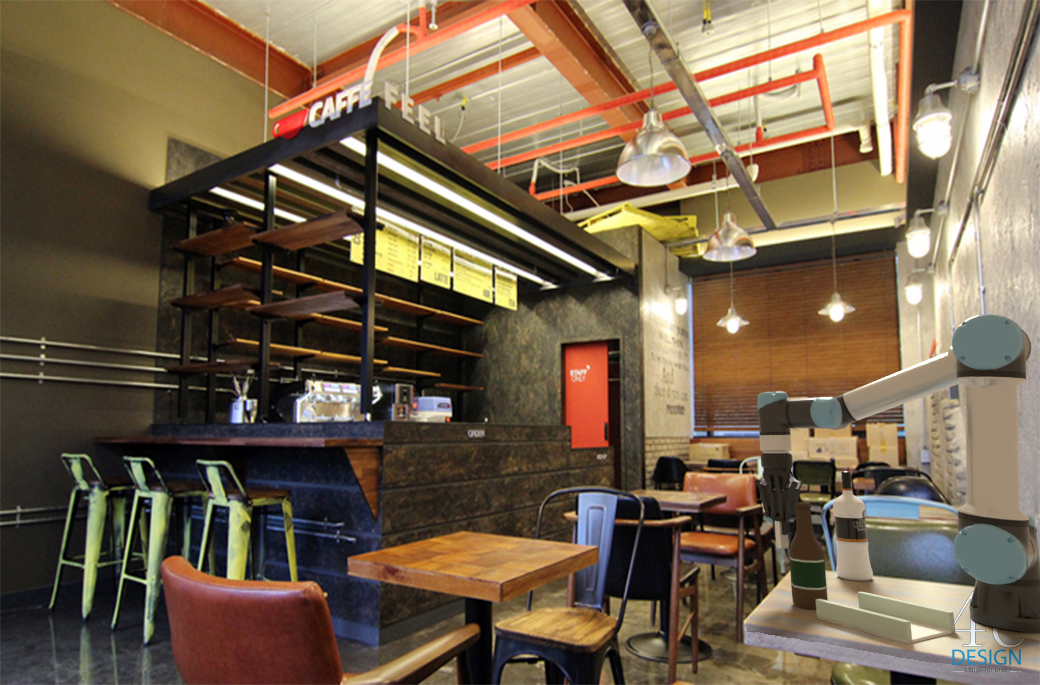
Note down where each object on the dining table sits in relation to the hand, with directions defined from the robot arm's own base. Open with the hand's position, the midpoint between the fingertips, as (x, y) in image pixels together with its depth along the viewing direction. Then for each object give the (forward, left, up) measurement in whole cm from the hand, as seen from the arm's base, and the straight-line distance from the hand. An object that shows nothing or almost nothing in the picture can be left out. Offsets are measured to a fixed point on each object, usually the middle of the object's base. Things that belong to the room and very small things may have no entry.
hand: (782, 547), depth 156 cm
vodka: (+8, -38, -13) cm, 41 cm away
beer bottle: (-7, 0, -13) cm, 14 cm away
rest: (-25, 0, -12) cm, 28 cm away
